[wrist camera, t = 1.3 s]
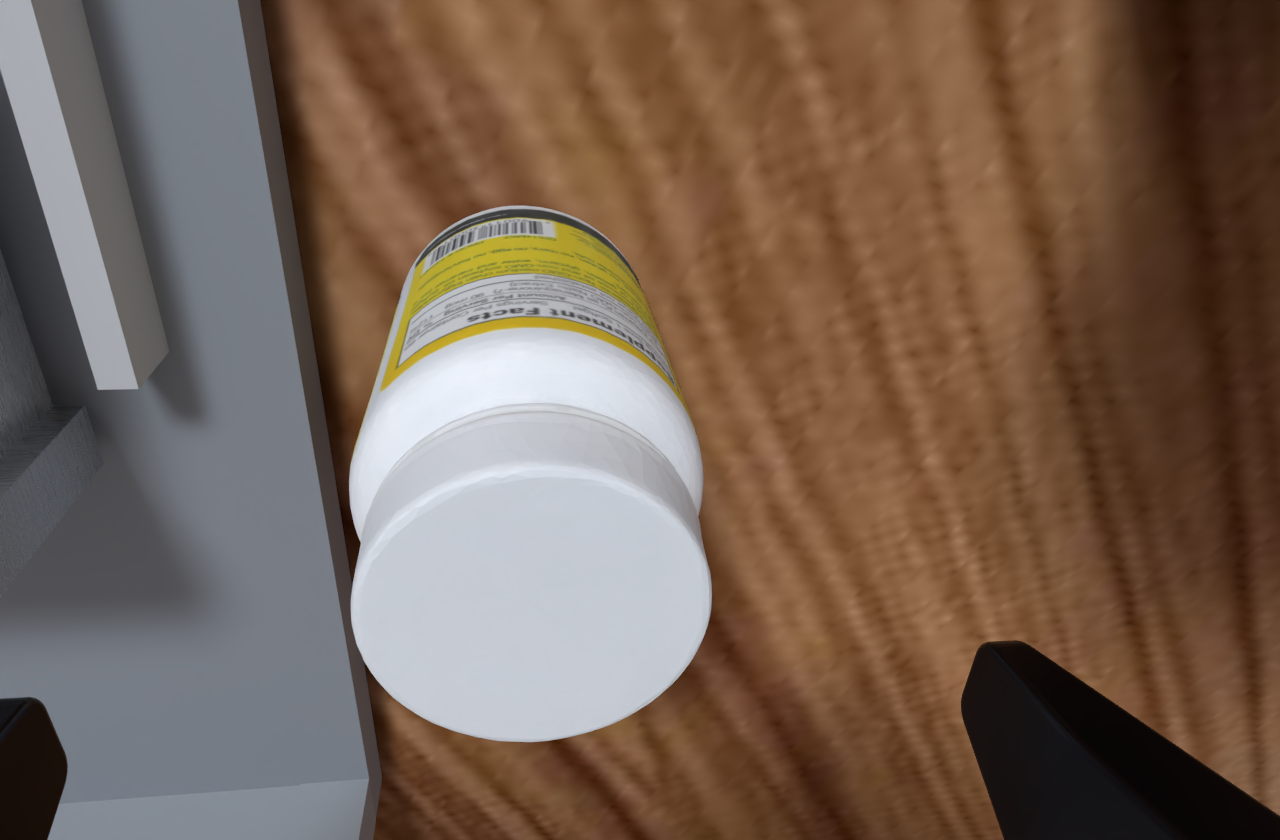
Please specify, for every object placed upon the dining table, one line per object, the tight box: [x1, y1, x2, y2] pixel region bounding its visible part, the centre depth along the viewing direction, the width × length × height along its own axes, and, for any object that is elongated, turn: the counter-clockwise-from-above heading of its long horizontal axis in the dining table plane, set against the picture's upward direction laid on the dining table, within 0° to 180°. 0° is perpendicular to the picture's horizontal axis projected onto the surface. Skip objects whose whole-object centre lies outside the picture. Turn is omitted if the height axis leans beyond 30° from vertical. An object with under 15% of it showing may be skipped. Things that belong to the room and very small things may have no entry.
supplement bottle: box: [349, 206, 712, 742], centre depth 13 cm, size 5×5×8 cm
